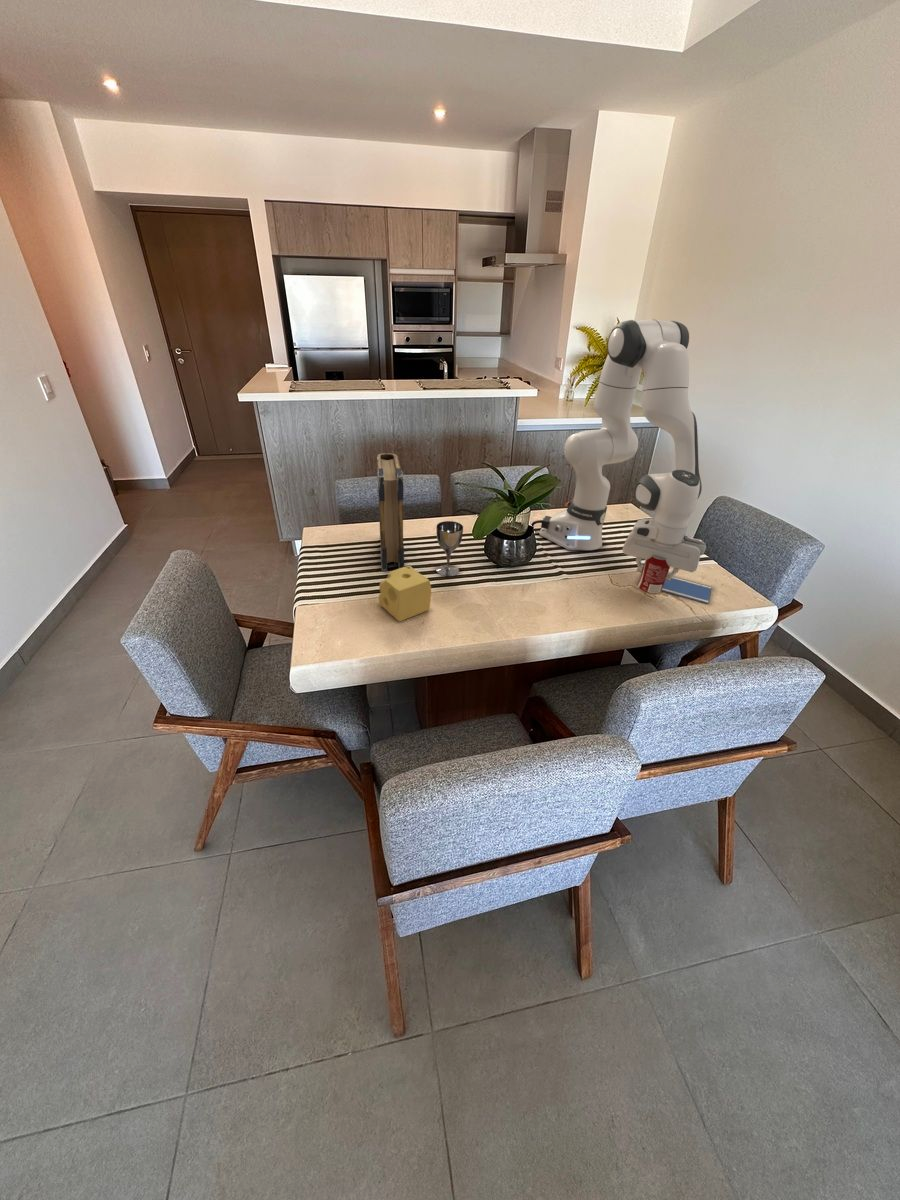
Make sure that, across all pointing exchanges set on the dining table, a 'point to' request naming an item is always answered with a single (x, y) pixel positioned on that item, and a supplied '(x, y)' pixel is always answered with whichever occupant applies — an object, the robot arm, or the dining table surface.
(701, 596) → the blue rectangular panel
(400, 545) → the decorative book
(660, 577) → the soda can
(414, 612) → the cheese
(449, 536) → the wine glass
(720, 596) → the dining table surface
